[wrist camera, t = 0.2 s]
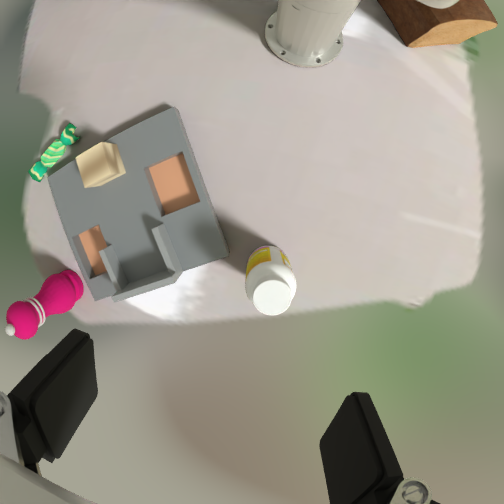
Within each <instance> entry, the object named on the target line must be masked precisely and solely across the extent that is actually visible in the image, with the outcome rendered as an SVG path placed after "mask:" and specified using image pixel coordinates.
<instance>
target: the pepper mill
mask: <svg viewBox="0 0 504 504" xmlns="http://www.w3.org/2000/svg"><path fill="white" fill-rule="evenodd" d="M82 295H83V283H82V281H81V279H80V277H79V276H78V275H77V274H76V273H75V272H73V271H71V270H65V271H63V272H61V273H59V274H53V275H51V276H50V277H48V278H47V279H46V280H45V282H44V283H43V285H42V287H41V290H40V292H39V293H38V294H37V295H36V296H34V297H28V298H26V299H25V300H23V301H17V302H15V303H13V304H12V305H11V306H10V307H9V309H8V311H7V317H6V318H7V325H6V327H5V331H6V333H7V334H8V335H10V336H11V335H15V336H16V337H18V338H20V339H29V338H31V337H33V336H34V335H35V334H36V332H37V330H38V327H40V326H41V325H42V324H43V323H44V322H45V318H46V317H47V316H49V315H52V314H61V313H65V312H67V311H69V310H70V309H71V308H72V307H73V306H74V304H75V302H76V301H77V300H78V299H80V298H81V297H82Z"/></svg>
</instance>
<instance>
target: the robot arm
mask: <svg viewBox="0 0 504 504" xmlns="http://www.w3.org/2000/svg"><path fill="white" fill-rule="evenodd" d="M360 1H361V0H278V8H277V11H276V12H274V13H273V14H272V15H271V16H270V18H269V19H268V21H267V23H266V27H265V38H266V42H267V44H268V46H269V48H270V49H271V50H272V52H273V53H274V54H275V55H277V56H278V57H279V58H280V59H282V60H283V61H285V62H287V63H290V64H292V65H295V66H299V67H306V68H314V67H320V66H323V65H326V64H328V63H330V62H331V61H333V60H334V59H335V58H336V57H337V56H338V54H339V53H340V51H341V49H342V46H343V35H342V29H343V28H344V26H345V25H346V23H347V22H348V20H349V18H350V17H351V15H352V14H353V12H354V11H355V9H356V7H357V6H358V4H359V3H360ZM417 1H419V2H421V3H423V4H425V5H427V6H430V7H433V8H439V9H443V8H448V7H450V6H452V5H454V4H455V3H457V2H458V1H459V0H417ZM337 43H338V44H337ZM281 54H284V55H281ZM316 61H317V62H319V63H317V62H316ZM97 394H98V388H97V380H96V370H95V359H94V346H93V340H92V339H90V336H89V334H88V333H85V332H82V331H80V330H77V329H73V330H72V331H71V332H70V333H69V334H68V335H67V336H66V337H65V338H64V339H63V340H62V341H61V342H60V343H59V344H57V346H55V348H53V349H52V351H50V352H49V353H48V354H47V355H46V356H44V357H43V358H42V359H41V360H40V361H39V362H38V363H37V365H36V366H35V367H34V368H33V369H32V370H31V371H30V372H29V373H28V374H27V375H26V376H25V377H24V378H23V379H22V380H21V381H20V382H19V383H18V384H17V386H16V387H15V388H14V389H13V390H12V391H11V392H10V393H9V394H8V395H6V394H4V393H3V392H1V391H0V504H97V503H94V502H92V501H89V500H87V499H85V498H83V497H80V496H79V495H76V494H74V493H72V492H70V491H68V490H66V489H64V488H62V487H60V486H58V485H56V484H54V483H52V482H50V481H49V480H47V479H45V478H43V477H42V475H41V472H40V468H39V464H38V463H39V461H40V460H41V458H44V459H46V460H47V461H49V462H51V463H52V462H53V461H54V459H55V458H57V459H58V458H60V457H61V455H62V453H63V452H64V450H65V448H66V446H67V445H68V443H69V441H70V440H71V438H72V436H73V435H74V433H75V431H76V430H77V428H78V427H79V425H80V423H81V421H82V420H83V418H84V417H85V415H86V414H87V412H88V410H89V408H90V407H91V405H92V404H93V402H94V401H95V399H96V397H97ZM320 451H321V457H322V462H323V467H324V473H325V478H326V484H327V489H328V495H329V500H330V504H440V503H437V502H435V501H433V500H431V496H432V493H431V489H430V487H429V485H428V484H427V483H426V482H425V481H423V480H421V479H418V478H412V477H410V478H407V479H405V480H404V478H403V473H402V471H401V468H400V465H399V463H398V461H397V458H396V456H395V453H394V451H393V448H392V446H391V444H390V441H389V439H388V436H387V434H386V432H385V429H384V427H383V425H382V422H381V420H380V418H379V416H378V413H377V411H376V409H375V407H374V404H373V402H372V400H371V398H370V395H369V394H368V393H362V392H353V393H351V395H348V396H347V397H346V398H345V400H344V402H343V403H342V405H341V407H340V409H339V410H338V412H337V414H336V415H335V417H334V419H333V420H332V422H331V424H330V425H329V427H328V428H327V430H326V432H325V433H324V435H323V436H322V438H321V440H320Z"/></svg>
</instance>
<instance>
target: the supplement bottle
mask: <svg viewBox="0 0 504 504" xmlns="http://www.w3.org/2000/svg"><path fill="white" fill-rule="evenodd" d="M245 289H246V294H247V296H248V298H249V300H250V301H251V302H252V303H253V304H254V306H255V307H256V308H257V310H258V311H260V312H261V313H263V314H266V315H278V314H280V313H282V312H284V311H285V310H286V309H287V308H288V307H289V305H290V304H291V300H292V298H293V297H294V294H295V291H296V280H295V276H294V274H293V271H292V268H291V266H290V263H289V260H288V258H287V256H286V254H285V253H284V252H283V251H282V250H281V249H279V248H277V247H275V246H262V247H259V248H257V249H256V250H255V251H253V252H252V254H251V255H250V257H249V259H248V262H247V269H246V281H245Z"/></svg>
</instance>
